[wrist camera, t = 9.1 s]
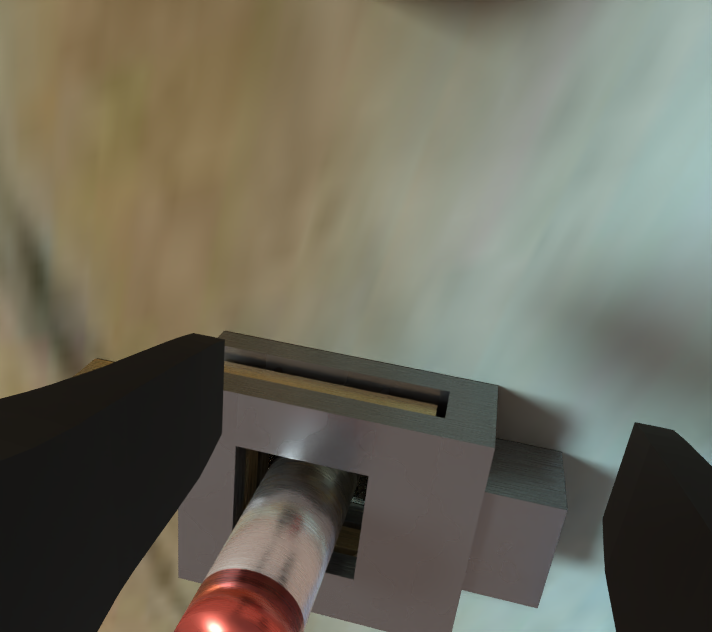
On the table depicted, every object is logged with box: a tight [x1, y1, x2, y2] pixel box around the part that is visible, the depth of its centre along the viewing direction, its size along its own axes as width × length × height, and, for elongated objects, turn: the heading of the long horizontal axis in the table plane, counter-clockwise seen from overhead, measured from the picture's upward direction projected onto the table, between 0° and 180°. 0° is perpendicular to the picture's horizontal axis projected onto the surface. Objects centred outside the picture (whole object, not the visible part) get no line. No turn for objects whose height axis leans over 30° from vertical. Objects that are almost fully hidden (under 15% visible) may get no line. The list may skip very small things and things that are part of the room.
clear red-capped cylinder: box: [174, 455, 361, 632], centre depth 21 cm, size 3×3×9 cm
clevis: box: [73, 331, 568, 632], centre depth 23 cm, size 17×8×4 cm, turn 83°
